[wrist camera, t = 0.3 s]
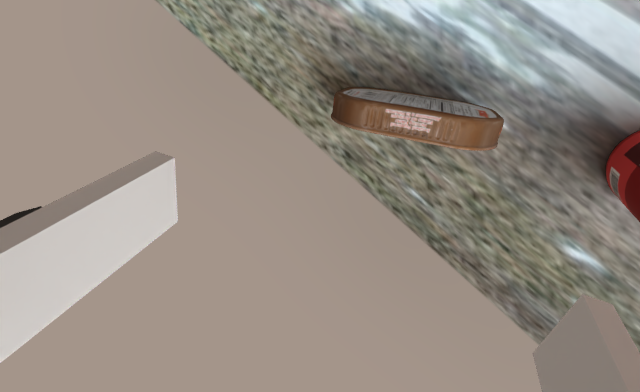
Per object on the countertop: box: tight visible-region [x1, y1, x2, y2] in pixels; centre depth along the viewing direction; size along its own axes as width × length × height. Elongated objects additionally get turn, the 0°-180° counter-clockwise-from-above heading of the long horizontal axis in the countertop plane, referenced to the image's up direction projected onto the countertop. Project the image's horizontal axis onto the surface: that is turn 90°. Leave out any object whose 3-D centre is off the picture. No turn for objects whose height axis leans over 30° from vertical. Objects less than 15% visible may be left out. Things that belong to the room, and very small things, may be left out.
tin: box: [331, 87, 504, 151], centre depth 31 cm, size 15×3×8 cm, turn 84°
